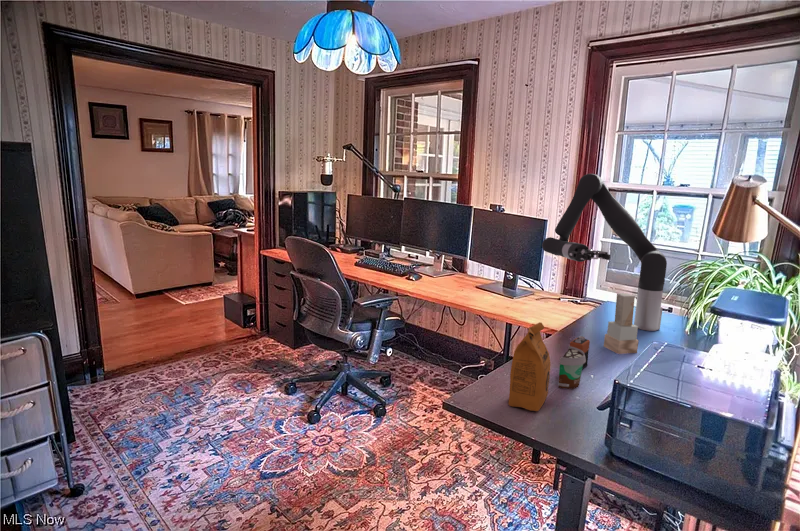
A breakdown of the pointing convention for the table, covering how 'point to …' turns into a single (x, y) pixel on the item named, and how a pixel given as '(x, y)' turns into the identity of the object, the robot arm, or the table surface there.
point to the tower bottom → (620, 345)
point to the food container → (571, 368)
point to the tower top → (622, 331)
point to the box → (624, 309)
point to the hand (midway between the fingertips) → (600, 257)
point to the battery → (581, 346)
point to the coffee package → (530, 371)
